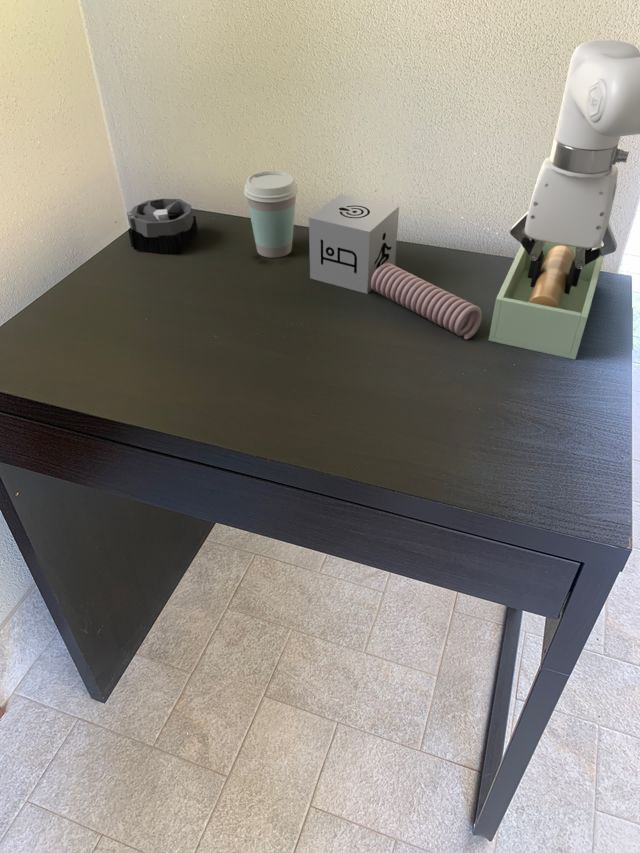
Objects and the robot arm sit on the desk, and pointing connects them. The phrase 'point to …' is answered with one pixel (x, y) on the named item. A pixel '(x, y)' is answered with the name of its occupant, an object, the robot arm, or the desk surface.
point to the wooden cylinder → (553, 277)
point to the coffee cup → (272, 211)
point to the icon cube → (352, 241)
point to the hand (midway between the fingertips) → (551, 284)
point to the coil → (427, 300)
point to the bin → (543, 310)
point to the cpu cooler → (162, 226)
